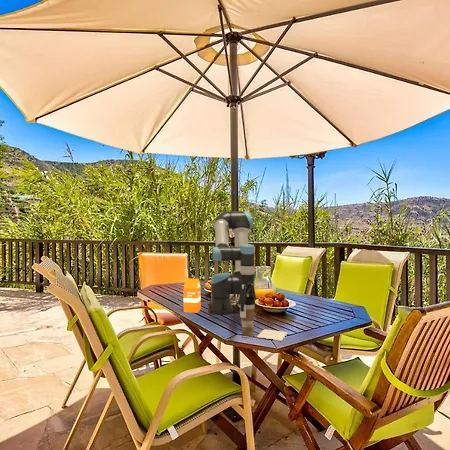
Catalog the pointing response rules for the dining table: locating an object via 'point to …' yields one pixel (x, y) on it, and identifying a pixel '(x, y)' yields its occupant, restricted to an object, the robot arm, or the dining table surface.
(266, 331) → the coaster
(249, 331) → the walnut cube
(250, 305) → the coffee cup
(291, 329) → the dining table surface
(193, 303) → the orange juice
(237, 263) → the robot arm
